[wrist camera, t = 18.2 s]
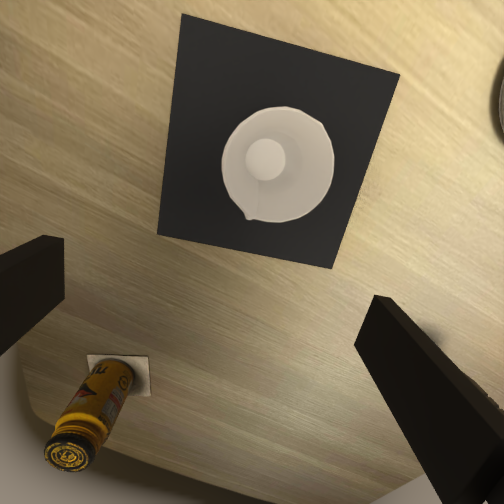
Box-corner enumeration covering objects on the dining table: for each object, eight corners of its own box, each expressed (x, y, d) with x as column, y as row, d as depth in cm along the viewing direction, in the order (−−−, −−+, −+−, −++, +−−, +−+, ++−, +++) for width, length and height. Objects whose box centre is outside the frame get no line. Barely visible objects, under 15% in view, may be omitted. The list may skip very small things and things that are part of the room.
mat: (157, 233, 35) (156, 234, 34) (182, 14, 27) (181, 13, 27) (330, 268, 37) (331, 269, 37) (399, 75, 29) (400, 74, 29)
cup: (210, 174, 32) (197, 187, 23) (259, 96, 29) (267, 76, 20) (274, 218, 34) (286, 247, 25) (325, 149, 31) (360, 153, 22)
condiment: (87, 354, 41) (27, 434, 29) (148, 355, 41) (112, 436, 30) (94, 393, 43) (41, 480, 32) (151, 394, 44) (119, 481, 32)
